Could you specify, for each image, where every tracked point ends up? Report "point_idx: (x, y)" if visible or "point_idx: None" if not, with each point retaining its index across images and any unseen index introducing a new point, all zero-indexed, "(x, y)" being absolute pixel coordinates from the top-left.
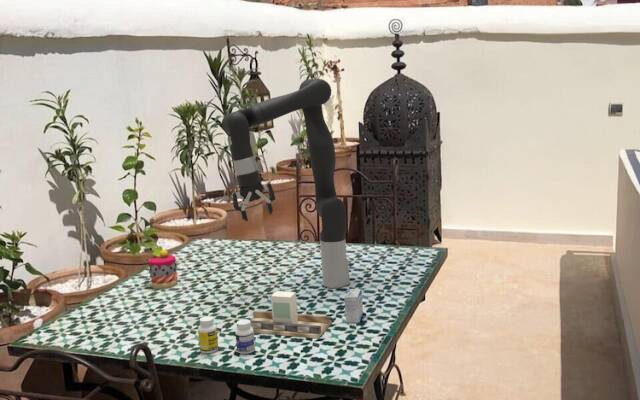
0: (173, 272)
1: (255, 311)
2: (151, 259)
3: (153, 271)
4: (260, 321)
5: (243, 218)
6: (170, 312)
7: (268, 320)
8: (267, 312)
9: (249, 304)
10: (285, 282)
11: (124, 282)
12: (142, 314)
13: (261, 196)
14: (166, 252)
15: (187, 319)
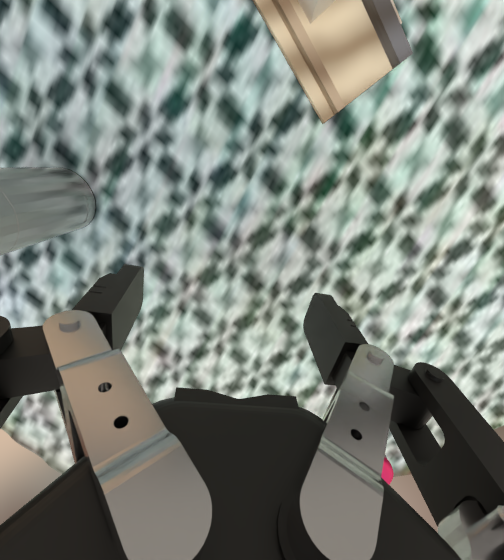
0: None
1: (340, 101)
2: (388, 481)
3: None
4: (378, 3)
5: (346, 314)
6: (429, 294)
7: (326, 54)
8: (322, 66)
9: (287, 221)
10: (159, 290)
11: None
12: (471, 321)
13: (129, 393)
14: None
15: (434, 232)
